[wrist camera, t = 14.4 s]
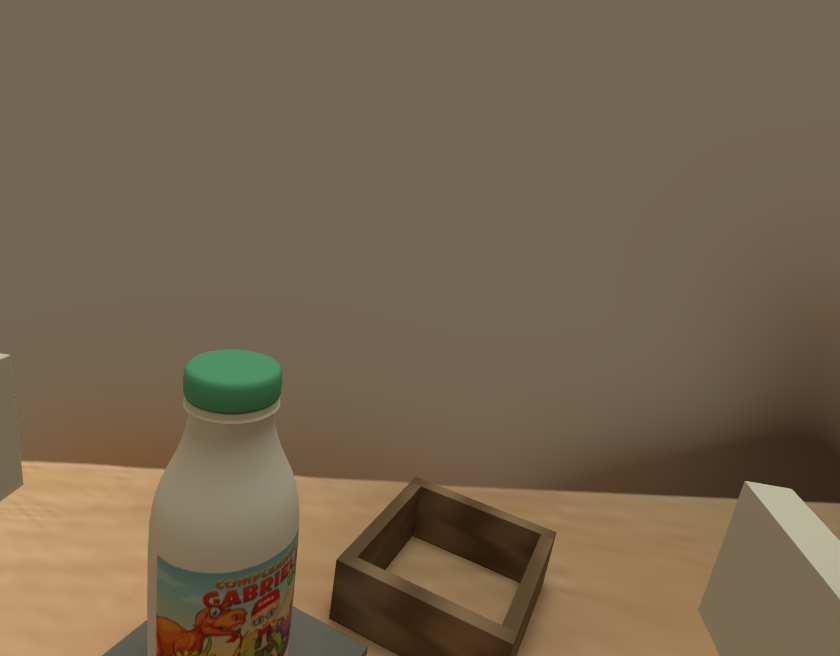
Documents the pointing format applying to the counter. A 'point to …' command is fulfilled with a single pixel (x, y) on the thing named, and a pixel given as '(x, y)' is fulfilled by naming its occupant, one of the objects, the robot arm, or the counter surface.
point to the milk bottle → (224, 518)
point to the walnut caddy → (423, 610)
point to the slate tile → (308, 643)
